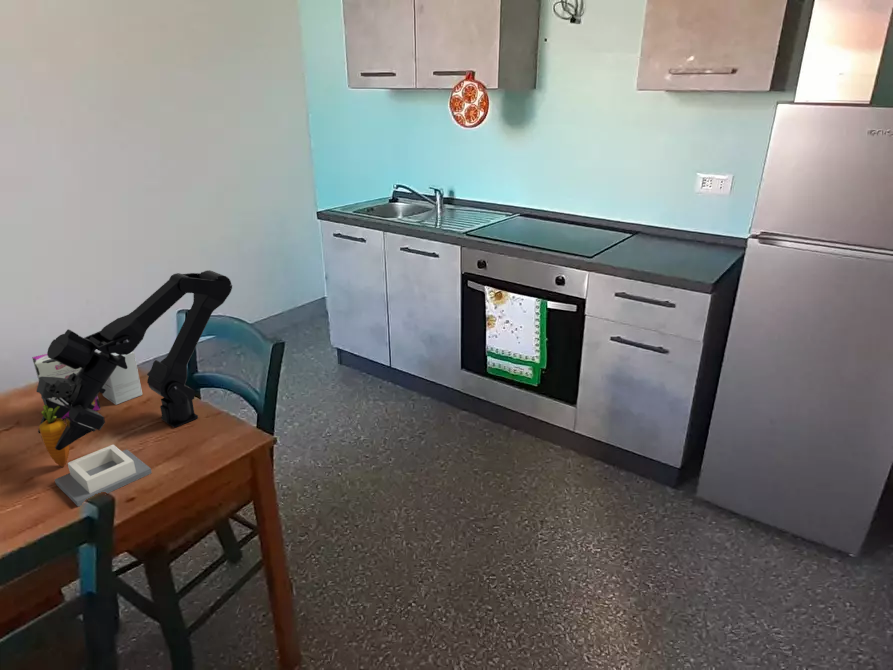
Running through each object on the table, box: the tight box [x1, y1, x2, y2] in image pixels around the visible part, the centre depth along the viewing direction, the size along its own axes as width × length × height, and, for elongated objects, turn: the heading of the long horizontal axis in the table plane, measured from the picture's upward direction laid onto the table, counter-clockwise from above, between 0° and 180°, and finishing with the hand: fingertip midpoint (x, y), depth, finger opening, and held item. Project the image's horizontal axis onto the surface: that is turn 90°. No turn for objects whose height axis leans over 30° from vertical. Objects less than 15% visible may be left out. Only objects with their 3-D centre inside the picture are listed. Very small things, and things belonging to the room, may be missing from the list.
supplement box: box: [97, 351, 143, 405], centre depth 164 cm, size 7×7×13 cm
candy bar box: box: [31, 353, 101, 421], centre depth 155 cm, size 11×5×16 cm, turn 129°
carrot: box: [38, 404, 70, 468], centre depth 134 cm, size 5×5×15 cm
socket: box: [54, 444, 153, 507], centre depth 133 cm, size 15×11×4 cm
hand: (48, 441), depth 133 cm, fingers open, 9 cm apart
